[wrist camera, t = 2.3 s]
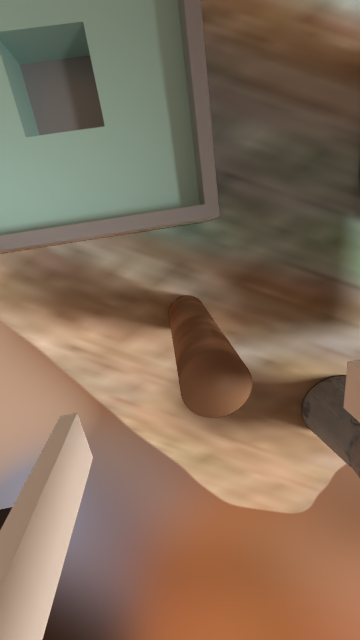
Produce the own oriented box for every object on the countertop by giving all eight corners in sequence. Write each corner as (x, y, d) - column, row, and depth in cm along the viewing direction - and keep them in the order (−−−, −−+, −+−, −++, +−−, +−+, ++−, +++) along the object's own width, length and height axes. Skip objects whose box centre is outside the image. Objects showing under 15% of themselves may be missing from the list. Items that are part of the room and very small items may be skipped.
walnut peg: (202, 292, 26) (250, 349, 13) (206, 327, 27) (253, 410, 14) (166, 299, 26) (175, 362, 13) (171, 333, 27) (186, 423, 14)
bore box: (172, -80, 17) (180, -236, 11) (204, 222, 24) (219, 216, 18) (-119, -49, 16) (-264, -199, 11) (-3, 254, 23) (-55, 259, 17)
